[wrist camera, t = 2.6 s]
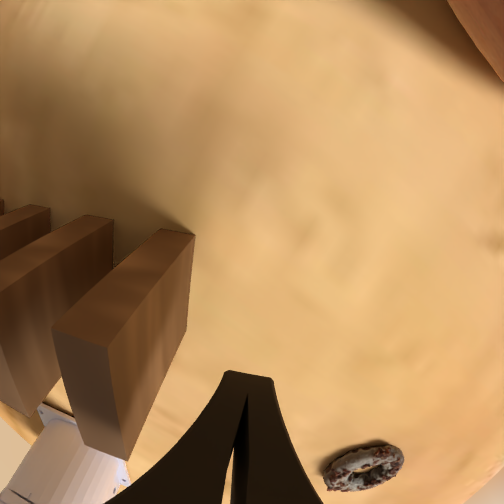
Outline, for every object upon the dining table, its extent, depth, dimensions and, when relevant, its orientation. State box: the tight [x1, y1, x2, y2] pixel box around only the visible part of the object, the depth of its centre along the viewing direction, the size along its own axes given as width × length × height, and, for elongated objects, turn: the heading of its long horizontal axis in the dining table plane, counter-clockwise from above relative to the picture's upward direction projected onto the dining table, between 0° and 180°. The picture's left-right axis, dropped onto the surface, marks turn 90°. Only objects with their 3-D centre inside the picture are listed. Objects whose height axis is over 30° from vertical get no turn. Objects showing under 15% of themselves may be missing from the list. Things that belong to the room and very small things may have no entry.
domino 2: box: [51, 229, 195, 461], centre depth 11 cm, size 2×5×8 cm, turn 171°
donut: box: [323, 445, 404, 492], centre depth 18 cm, size 8×8×2 cm
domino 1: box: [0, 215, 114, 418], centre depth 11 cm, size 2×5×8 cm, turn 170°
